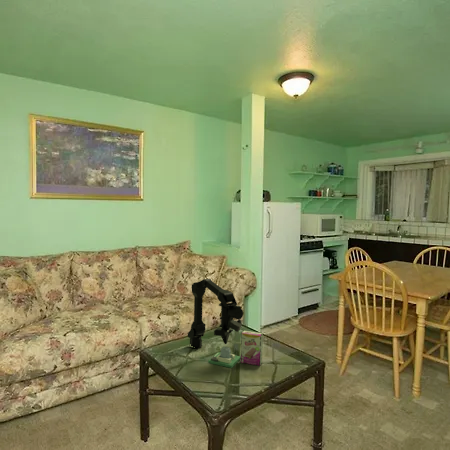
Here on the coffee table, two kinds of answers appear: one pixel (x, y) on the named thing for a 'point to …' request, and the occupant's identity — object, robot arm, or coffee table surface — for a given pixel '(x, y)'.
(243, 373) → the coffee table surface
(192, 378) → the coffee table surface
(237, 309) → the robot arm
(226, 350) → the plug
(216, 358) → the board
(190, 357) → the coffee table surface
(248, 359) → the candy bar box
